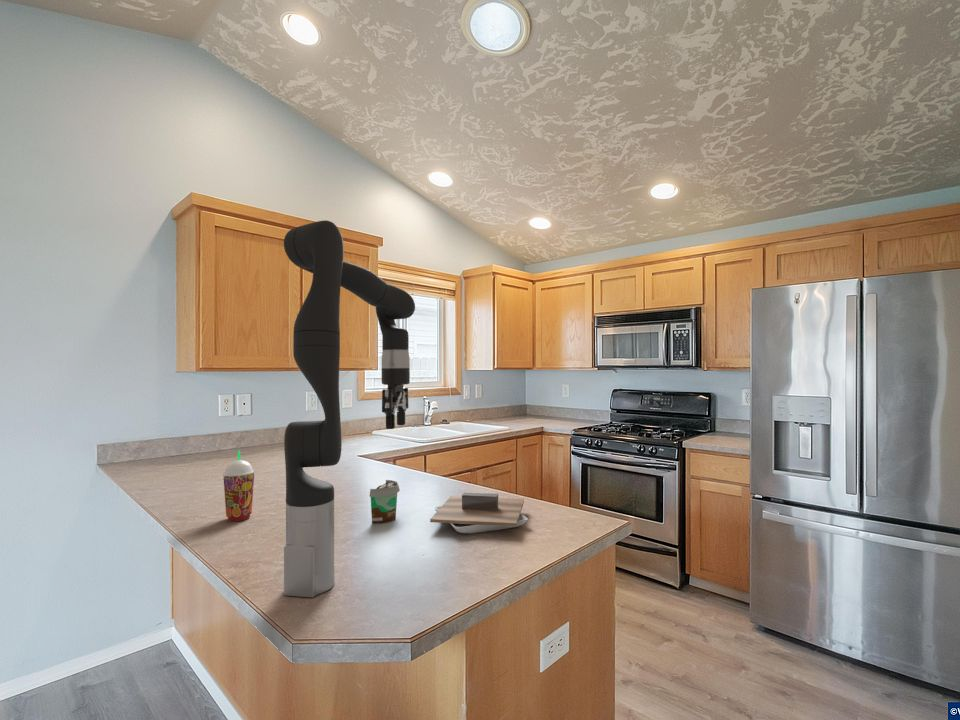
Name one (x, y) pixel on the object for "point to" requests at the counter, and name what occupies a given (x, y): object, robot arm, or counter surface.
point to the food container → (384, 502)
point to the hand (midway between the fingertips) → (395, 426)
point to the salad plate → (482, 528)
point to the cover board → (479, 510)
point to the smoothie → (238, 489)
